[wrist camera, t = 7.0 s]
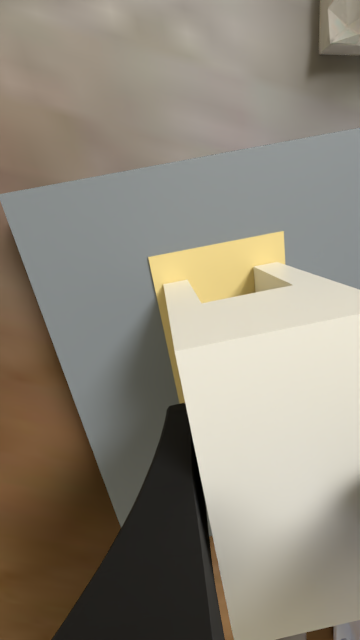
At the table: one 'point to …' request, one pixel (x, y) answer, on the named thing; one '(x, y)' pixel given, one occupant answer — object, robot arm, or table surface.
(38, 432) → the table surface
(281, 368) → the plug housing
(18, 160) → the table surface
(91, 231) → the board
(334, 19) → the packaged product
